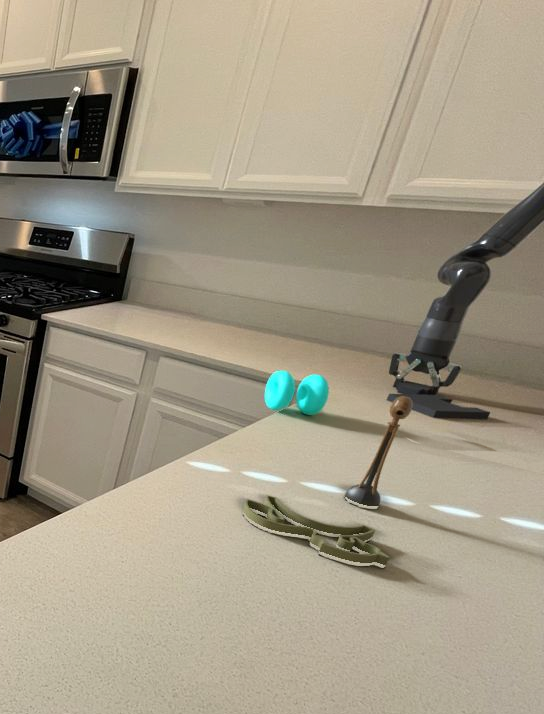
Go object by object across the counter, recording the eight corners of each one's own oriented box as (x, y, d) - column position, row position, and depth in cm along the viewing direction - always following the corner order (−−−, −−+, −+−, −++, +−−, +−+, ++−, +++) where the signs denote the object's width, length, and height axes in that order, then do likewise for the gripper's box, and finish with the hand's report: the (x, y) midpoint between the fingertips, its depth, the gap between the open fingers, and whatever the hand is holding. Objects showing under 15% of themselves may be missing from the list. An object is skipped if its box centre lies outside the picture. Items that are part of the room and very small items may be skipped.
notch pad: (434, 407, 153) (439, 395, 152) (484, 425, 142) (490, 412, 141) (383, 406, 153) (389, 393, 151) (430, 424, 141) (436, 410, 140)
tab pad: (400, 392, 165) (405, 380, 164) (429, 398, 160) (434, 386, 159) (389, 396, 160) (394, 384, 159) (418, 404, 155) (424, 391, 154)
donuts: (321, 421, 139) (336, 382, 136) (272, 414, 142) (286, 376, 139) (304, 407, 148) (317, 370, 145) (258, 401, 151) (270, 365, 148)
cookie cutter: (386, 544, 90) (391, 533, 89) (383, 578, 82) (388, 566, 81) (249, 499, 102) (252, 489, 101) (234, 525, 93) (237, 514, 93)
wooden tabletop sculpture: (375, 515, 99) (423, 405, 92) (340, 503, 102) (384, 396, 95) (379, 503, 102) (425, 397, 95) (345, 493, 105) (388, 389, 98)
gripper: (479, 341, 151) (451, 401, 157) (406, 328, 162) (383, 385, 168) (471, 344, 147) (443, 405, 153) (397, 331, 159) (374, 389, 165)
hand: (412, 394), depth 161 cm, fingers closed on tab pad, 6 cm apart
